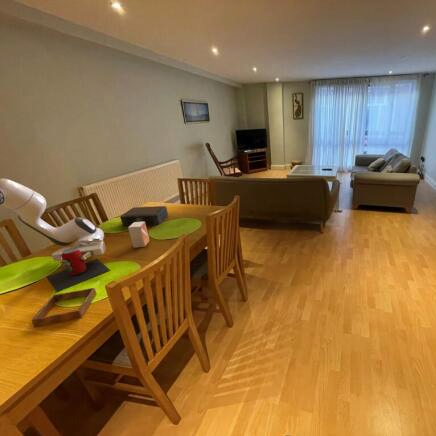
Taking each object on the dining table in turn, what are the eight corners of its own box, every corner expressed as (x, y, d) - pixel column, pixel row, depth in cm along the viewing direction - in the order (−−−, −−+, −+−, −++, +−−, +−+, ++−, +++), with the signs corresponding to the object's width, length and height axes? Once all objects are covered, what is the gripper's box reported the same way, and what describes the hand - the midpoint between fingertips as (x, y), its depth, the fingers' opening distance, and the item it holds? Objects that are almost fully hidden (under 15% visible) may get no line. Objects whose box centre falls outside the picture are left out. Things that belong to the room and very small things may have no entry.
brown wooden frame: (34, 327, 86) (31, 320, 85) (56, 301, 99) (53, 294, 97) (82, 317, 90) (79, 310, 89) (96, 293, 103) (94, 287, 102)
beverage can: (69, 271, 116) (59, 250, 112) (86, 266, 120) (78, 245, 116) (69, 277, 112) (59, 255, 107) (87, 272, 116) (79, 250, 111)
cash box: (121, 227, 167) (118, 216, 164) (135, 216, 186) (132, 207, 183) (159, 225, 170) (156, 215, 167) (169, 214, 188) (167, 205, 186)
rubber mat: (57, 292, 104) (56, 291, 104) (47, 277, 114) (46, 276, 114) (110, 270, 119) (109, 269, 119) (97, 259, 129) (96, 258, 128)
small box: (145, 246, 141) (139, 226, 136) (133, 247, 140) (127, 227, 135) (150, 240, 148) (145, 221, 143) (138, 241, 147) (133, 222, 142)
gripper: (58, 244, 120) (42, 258, 108) (106, 238, 126) (95, 250, 114) (62, 255, 123) (47, 269, 111) (109, 248, 129) (99, 261, 117)
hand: (72, 260), depth 112 cm, fingers closed on beverage can, 6 cm apart
